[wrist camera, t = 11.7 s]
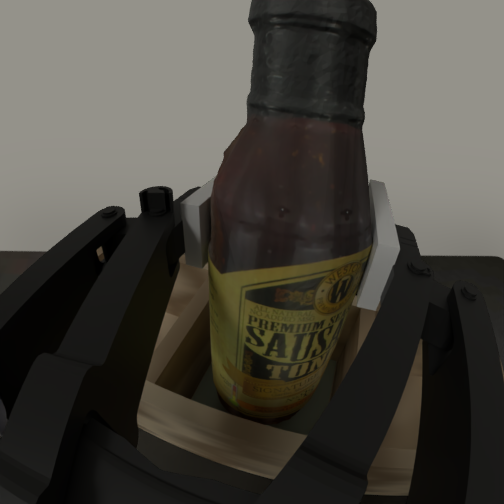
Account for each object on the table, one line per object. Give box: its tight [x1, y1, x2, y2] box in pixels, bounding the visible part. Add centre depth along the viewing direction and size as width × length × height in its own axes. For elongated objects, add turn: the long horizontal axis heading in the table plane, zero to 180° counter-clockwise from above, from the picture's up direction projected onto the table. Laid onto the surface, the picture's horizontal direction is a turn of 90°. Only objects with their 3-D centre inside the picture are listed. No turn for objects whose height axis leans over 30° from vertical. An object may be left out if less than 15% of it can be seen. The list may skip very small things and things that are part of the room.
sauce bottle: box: [208, 0, 377, 425], centre depth 12 cm, size 7×6×20 cm
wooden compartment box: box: [97, 247, 504, 496], centre depth 17 cm, size 31×11×7 cm, turn 71°
